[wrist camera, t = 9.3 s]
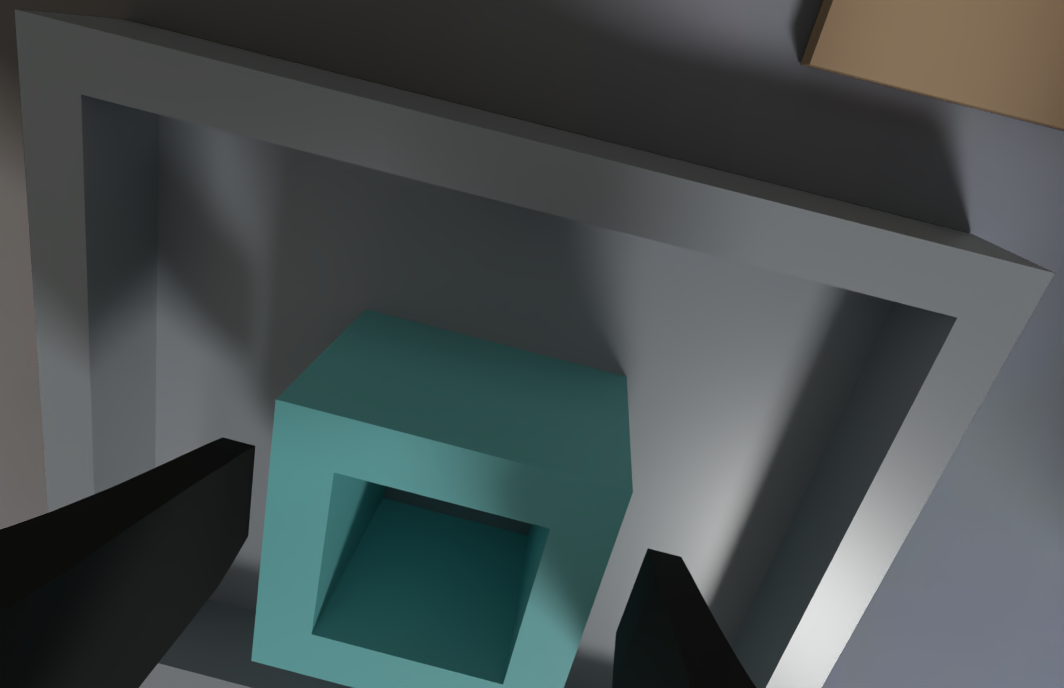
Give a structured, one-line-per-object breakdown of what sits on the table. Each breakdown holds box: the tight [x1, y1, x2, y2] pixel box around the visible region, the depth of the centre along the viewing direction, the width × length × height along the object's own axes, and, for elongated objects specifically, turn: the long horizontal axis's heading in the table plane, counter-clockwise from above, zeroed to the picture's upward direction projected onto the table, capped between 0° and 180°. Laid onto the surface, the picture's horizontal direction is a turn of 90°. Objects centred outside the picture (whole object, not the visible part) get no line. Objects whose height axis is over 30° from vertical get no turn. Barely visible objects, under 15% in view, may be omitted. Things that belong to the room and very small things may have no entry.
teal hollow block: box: [251, 309, 633, 688], centre depth 13 cm, size 5×7×4 cm
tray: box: [15, 9, 1055, 688], centre depth 14 cm, size 16×14×2 cm
